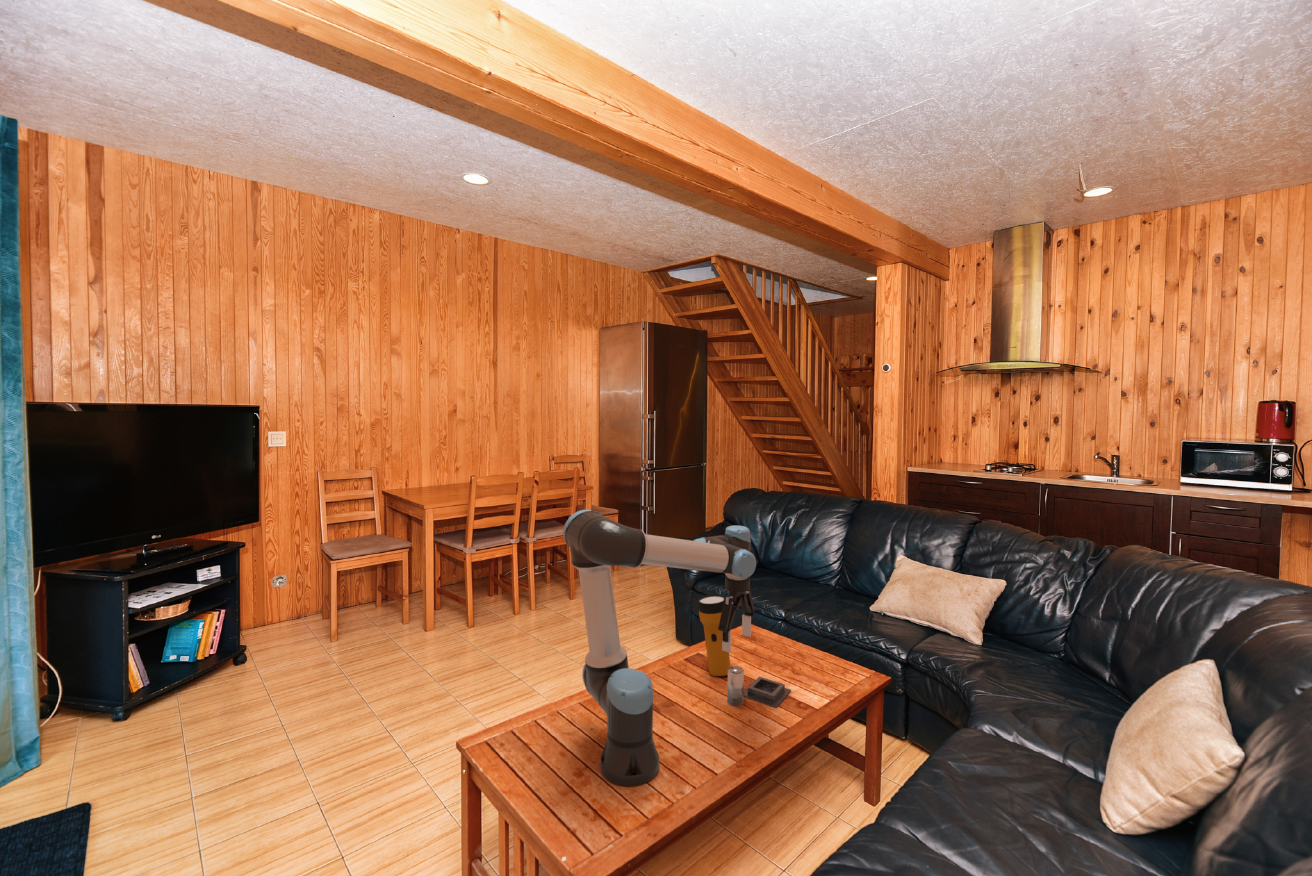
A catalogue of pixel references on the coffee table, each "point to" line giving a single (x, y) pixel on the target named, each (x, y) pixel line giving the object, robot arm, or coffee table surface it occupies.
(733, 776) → the coffee table surface
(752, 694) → the collar
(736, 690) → the piston
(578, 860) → the coffee table surface
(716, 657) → the flashlight
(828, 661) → the coffee table surface
